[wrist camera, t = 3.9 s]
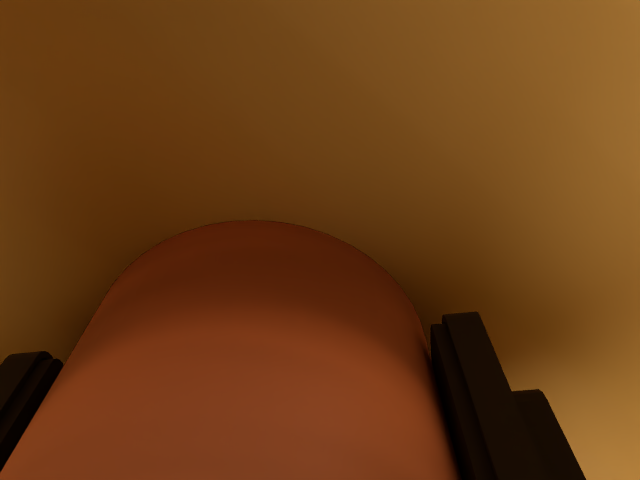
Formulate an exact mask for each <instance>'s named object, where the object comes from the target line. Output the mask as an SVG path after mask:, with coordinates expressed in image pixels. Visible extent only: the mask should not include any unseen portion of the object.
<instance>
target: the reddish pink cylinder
mask: <svg viewBox="0 0 640 480" xmlns="http://www.w3.org/2000/svg"><path fill="white" fill-rule="evenodd" d="M0 480H462V478H461V474H460V470H459V466H458V462H457V458H456V455H455V451H454V447H453V443H452V439H451V435H450V432H449V428H448V424H447V420H446V416H445V412H444V409H443V405H442V401H441V397H440V393H439V389H438V386H437V382H436V378H435V374H434V370H433V366H432V363H431V358H430V354H429V350H428V346H427V342H426V339H425V335H424V332H423V328H422V325H421V322H420V319H419V317H418V315H417V313H416V311H415V309H414V307H413V305H412V303H411V301H410V300H409V298H408V297H407V295H406V294H405V293H404V291H403V290H402V288H401V287H400V286H399V284H398V283H397V282H396V281H395V280H394V279H393V278H392V277H391V276H390V275H389V274H388V272H387V271H386V270H384V269H383V268H382V267H381V266H380V265H378V264H377V263H376V262H375V261H374V260H372V259H371V258H370V257H369V256H367V255H365V254H364V253H362V252H361V251H359V250H357V249H356V248H354V247H353V246H351V245H349V244H347V243H345V242H343V241H341V240H339V239H337V238H334V237H332V236H330V235H328V234H325V233H322V232H319V231H316V230H313V229H309V228H306V227H302V226H297V225H292V224H287V223H282V222H271V221H258V220H251V221H230V222H224V223H218V224H212V225H206V226H203V227H200V228H196V229H193V230H189V231H186V232H183V233H181V234H179V235H176V236H174V237H172V238H170V239H167V240H165V241H163V242H161V243H160V244H158V245H156V246H155V247H153V248H152V249H150V250H148V251H147V252H145V253H144V254H142V255H141V256H140V257H139V258H138V259H136V260H135V261H134V262H133V263H132V264H130V265H129V266H128V267H127V268H126V269H125V270H124V272H123V273H122V274H121V275H120V276H119V277H118V278H117V280H116V281H115V282H114V283H113V285H112V286H111V288H110V290H109V291H108V293H107V294H106V296H105V297H104V299H103V301H102V302H101V304H100V306H99V307H98V309H97V311H96V313H95V314H94V316H93V318H92V319H91V321H90V323H89V324H88V326H87V328H86V329H85V331H84V333H83V334H82V336H81V338H80V339H79V341H78V343H77V344H76V346H75V348H74V350H73V351H72V353H71V355H70V356H69V358H68V360H67V361H66V363H65V365H64V366H63V368H62V370H61V371H60V373H59V375H58V376H57V378H56V380H55V381H54V383H53V385H52V387H51V388H50V390H49V392H48V393H47V395H46V397H45V398H44V400H43V402H42V403H41V405H40V407H39V408H38V410H37V412H36V413H35V415H34V417H33V418H32V420H31V422H30V424H29V425H28V427H27V429H26V430H25V432H24V434H23V435H22V437H21V439H20V440H19V442H18V444H17V445H16V447H15V449H14V450H13V452H12V454H11V455H10V457H9V459H8V461H7V462H6V464H5V466H4V467H3V469H2V471H1V472H0Z"/></svg>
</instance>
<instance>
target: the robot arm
mask: <svg viewBox="0 0 640 480" xmlns="http://www.w3.org/2000/svg"><path fill="white" fill-rule="evenodd" d="M430 335H431V363H432V366H433V370H434V374H435V378H436V382H437V386H438V389H439V393H440V397H441V401H442V405H443V409H444V412H445V416H446V420H447V424H448V428H449V432H450V435H451V439H452V443H453V447H454V451H455V455H456V458H457V462H458V466H459V470H460V474H461V478H462V480H586V478H585V476H584V474H583V472H582V470H581V468H580V466H579V464H578V462H577V460H576V458H575V456H574V454H573V452H572V450H571V448H570V446H569V443H568V441H567V439H566V437H565V435H564V433H563V431H562V429H561V427H560V425H559V423H558V421H557V419H556V417H555V415H554V413H553V411H552V409H551V407H550V405H549V403H548V400H547V399H546V397H545V395H544V394H543V392H542V391H540V390H539V389H535V390H523V391H511V389H510V387H509V384H508V382H507V379H506V377H505V375H504V372H503V370H502V367H501V365H500V363H499V360H498V358H497V356H496V353H495V351H494V348H493V346H492V344H491V341H490V339H489V336H488V334H487V332H486V329H485V327H484V325H483V322H482V320H481V317H480V315H479V313H478V312H467V313H456V314H445V315H443V316H442V324H434V325H431V328H430ZM63 366H64V365H63V363H62V362H61V361H60V360H59V359H53V357H52V356H51V355H50V354H49V353H48V352H45V351H41V352H30V353H19V354H12V355H9V356H8V357H7V358H6V359H5V360H4V361H3V363H2V364H1V365H0V472H1V471H2V469H3V467H4V466H5V464H6V462H7V461H8V459H9V457H10V455H11V454H12V452H13V450H14V449H15V447H16V445H17V444H18V442H19V440H20V439H21V437H22V435H23V434H24V432H25V430H26V429H27V427H28V425H29V424H30V422H31V420H32V418H33V417H34V415H35V413H36V412H37V410H38V408H39V407H40V405H41V403H42V402H43V400H44V398H45V397H46V395H47V393H48V392H49V390H50V388H51V387H52V385H53V383H54V381H55V380H56V378H57V376H58V375H59V373H60V371H61V370H62V368H63Z"/></svg>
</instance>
